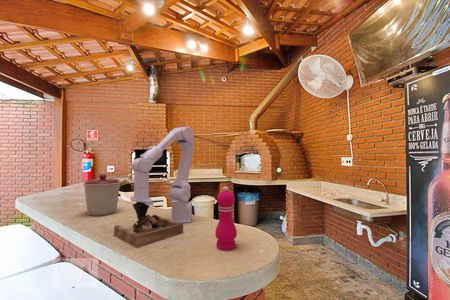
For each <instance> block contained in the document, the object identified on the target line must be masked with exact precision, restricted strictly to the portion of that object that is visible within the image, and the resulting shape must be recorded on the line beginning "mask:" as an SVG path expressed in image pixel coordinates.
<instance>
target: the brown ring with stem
mask: <svg viewBox="0 0 450 300" xmlns="http://www.w3.org/2000/svg"><path fill="white" fill-rule="evenodd" d="M158 216H159V215H156V214H153V215H150V214H146V215H145V216H144V217H142V218H141V219H139V220H138V219H137V220H136V222H134V223H133V225H132V227H133V232H134V233H136V234H139V233H140V232H143V227H151V229H155V230H158V229H161V227H159V224H158V223H159V217H160V216H159V217H158Z"/></svg>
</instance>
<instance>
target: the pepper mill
mask: <svg viewBox="0 0 450 300" xmlns="http://www.w3.org/2000/svg"><path fill="white" fill-rule="evenodd" d="M235 199H236V197H235V194H234V193H233V192H232V191H230V190H229V187H228V186H223V188H222V191H220V192H219V193H218V194H217V196H216V201H217V204H218V206H217V207H218V211H219V220H218V223H217V225H216V227H215V231H214V232H215V234H214V235H215V237H216V239H217V241H216V247H217V249H219V250H222V251H230V250H234V249H235V248H236V243H237V242H236V240H235V239H236V238H237V236H238V232H237V230H238V229H237V227H236V225H235V223H234V219H233V211H234V205H233V204H235V201H236V200H235Z"/></svg>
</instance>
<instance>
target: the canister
mask: <svg viewBox="0 0 450 300" xmlns="http://www.w3.org/2000/svg"><path fill="white" fill-rule="evenodd" d="M121 183H122V181H121V180H119V179H117V178H107V174H106V173H101V174H99V175H98V178H96V179H89V180H87V181H84V182H83V183H82V186H84V194H85V195H84V196H85V202H86V210H87V212H88V214H89V215H90V216H95V217H96V216H97V217H98V216H107V215H111V214H113V213H115V212H116V210H117V207H118V204H119V197H120V196H119V195H120V194H119V193H120V186H121Z"/></svg>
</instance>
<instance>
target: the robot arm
mask: <svg viewBox="0 0 450 300" xmlns="http://www.w3.org/2000/svg"><path fill="white" fill-rule="evenodd" d="M194 139H195V132H194V129H192V127H190V126H188V125H187V126H180V127H174V128H173V129H171V130H170V131H169V132H168V133H167V135H166V136H165V137H164V138H163V139H162V140H161V141H160V142H159V143H158V144H157V145H151V146H148V147H147V148H148V149H147V150H146V151H145V152H144V153H142V154H140V155H139V156H140V157H138V158H135V159H134V160H133V162H132V163H131V165H130V167H131V170H133V196H130V202H133V204H132V207H133V208H134V210H135V213H136V217H137V221H138V220H139V219H141V218H142V217H144V216H145V215H147V213H148V210H149V209H150V207H151V206H153V205H154V199H152V198H150V171H152V168H153V165H154V164H155V163H156V162H158V160H159V159H160V158H161V157H162V156H163V152H164V150H166V149H167V148H168V147H169V146H171V145H172V144H173V143H174V142H176V143H177V144H178V145H179V146H180V147H181V153H180V158H179V163H178V168H177V172H176V173H177V174H176V179H175V180H174V181H172V183H171V186H170V188H169V190H168V194H167V195H168V198H169V199H170V201H171V218H170V220H172V221H175V222H178V223H181V224H183V223H185V224H186V223H191V222H192V219H193V201H189V200H190V198H191V185H190V183H189V182H188V180H189V175H190V171H191V165H192V160H193V155H194V149H195V142H194V141H195V140H194ZM134 202H135V203H134Z"/></svg>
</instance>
